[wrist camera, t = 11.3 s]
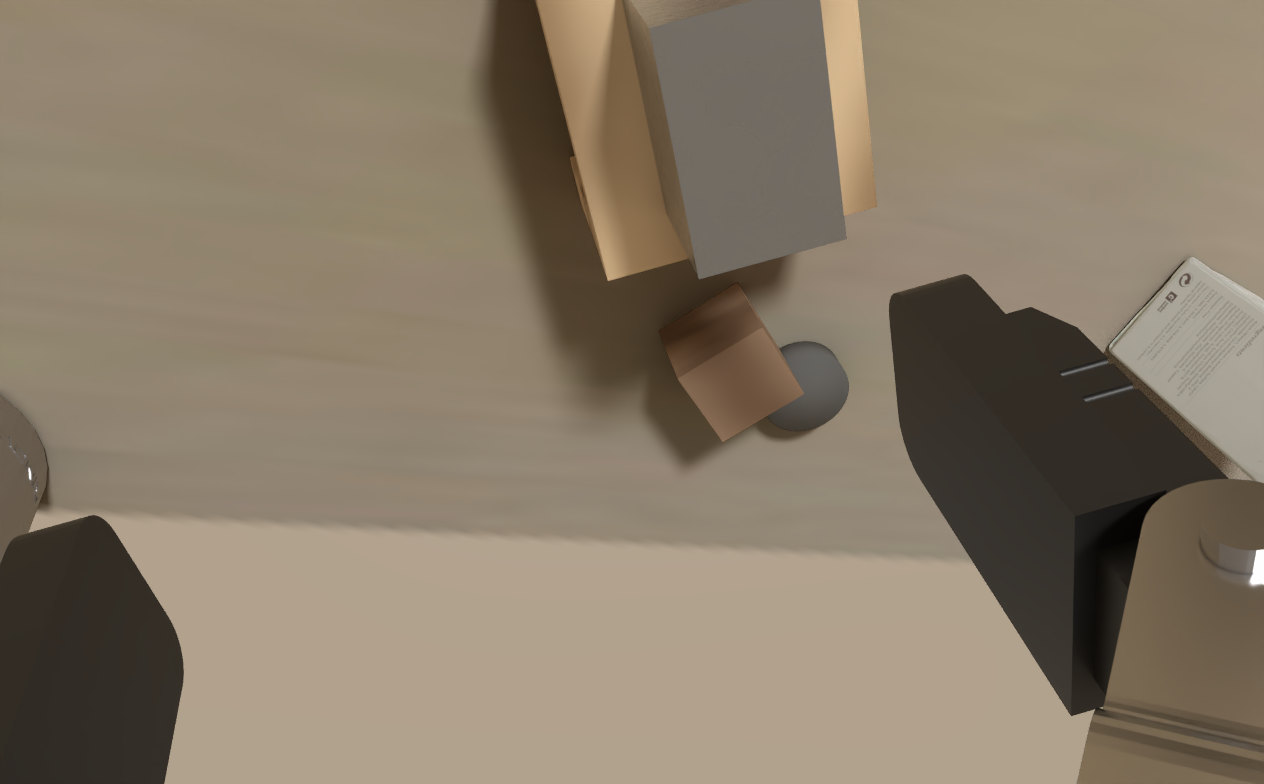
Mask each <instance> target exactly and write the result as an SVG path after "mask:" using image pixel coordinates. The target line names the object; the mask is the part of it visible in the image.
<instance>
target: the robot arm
mask: <svg viewBox="0 0 1264 784" xmlns="http://www.w3.org/2000/svg"><path fill="white" fill-rule="evenodd" d="M889 318H890V329H891V340H892V351H893V361H894V372H895V383H896V394H897V405H898V415H899V422H900V428H901V432H902V436H903V440H904V443H905V446H906V449H907V452H908V455H909V458H910V460H911V462H912V465H913V467H914V469H915V471H916V473H917V475H918V476H919V478H920V480H921V481H922V483H923V484H924V486H925V488H926V489H927V491H928V492H929V494H930V495H931V497H932V499H933V500H934V502H935V503H936V505H937V506H938V508H939V509H940V511H941V513H942V514H943V516H944V517H945V519H946V520H947V522H948V524H949V525H950V527H951V528H952V530H953V531H954V533H955V535H956V536H957V538H958V539H959V541H960V542H961V544H962V546H963V547H964V549H965V550H966V552H967V553H968V555H969V557H970V558H971V560H972V561H973V563H974V564H975V566H976V568H977V569H978V571H979V572H980V574H981V575H982V577H983V578H984V580H985V582H986V583H987V585H988V586H989V588H990V589H991V591H992V593H993V594H994V596H995V597H996V599H997V600H998V602H999V604H1000V605H1001V607H1002V608H1003V610H1004V612H1005V613H1006V615H1007V616H1008V618H1009V619H1010V621H1011V622H1012V624H1013V626H1014V627H1015V629H1016V630H1017V632H1018V633H1019V635H1020V637H1021V638H1022V640H1023V641H1024V643H1025V644H1026V646H1027V647H1028V649H1029V651H1030V652H1031V654H1032V655H1033V657H1034V659H1035V660H1036V662H1037V663H1038V665H1039V666H1040V668H1041V669H1042V671H1043V673H1044V674H1045V676H1046V677H1047V679H1048V680H1049V682H1050V684H1051V685H1052V687H1053V688H1054V690H1055V691H1056V693H1057V695H1058V696H1059V698H1060V699H1061V701H1062V703H1063V704H1064V706H1065V707H1066V709H1067V710H1068V712H1069V714H1070V715H1071V716H1073V715H1077V714H1080V713H1083V712H1087V711H1090V710H1093V709H1095V711H1094V714H1093V717H1092V720H1091V724H1090V727H1089V731H1088V735H1087V740H1086V744H1085V748H1084V753H1083V757H1082V762H1081V767H1080V771H1079V775H1078V780H1077V784H1264V483H1262V482H1256V481H1251V480H1240V479H1228V478H1227V477H1226V476H1225V475H1224V474H1223V473H1222V472H1221V471H1220V470H1219V469H1218V468H1217V467H1216V466H1215V465H1214V464H1213V463H1212V462H1211V461H1210V460H1209V459H1208V458H1207V457H1206V456H1205V455H1204V454H1203V453H1202V452H1201V451H1200V450H1199V449H1198V448H1197V447H1196V446H1195V445H1194V444H1193V443H1192V442H1191V441H1190V440H1189V439H1188V438H1187V437H1186V436H1185V435H1184V434H1183V433H1182V432H1181V431H1180V430H1179V429H1178V428H1177V427H1176V426H1175V425H1174V424H1173V423H1172V422H1171V421H1170V420H1169V419H1168V418H1167V417H1166V416H1165V415H1164V414H1163V413H1162V412H1161V411H1160V410H1159V409H1158V408H1157V407H1156V406H1155V405H1154V404H1153V403H1152V402H1151V401H1150V400H1149V399H1148V398H1147V397H1146V396H1145V395H1144V394H1143V393H1142V392H1141V391H1140V390H1139V389H1137V390H1134V388H1133V384H1132V382H1131V381H1130V380H1129V379H1128V378H1127V377H1126V376H1125V375H1124V374H1123V373H1122V372H1121V371H1120V370H1119V369H1118V368H1117V367H1116V366H1115V365H1114V364H1111V365H1110V364H1109V363H1108V359H1107V357H1106V356H1105V355H1104V354H1103V353H1102V352H1101V351H1100V350H1099V349H1098V348H1097V347H1096V346H1095V345H1094V344H1093V343H1092V342H1091V341H1090V340H1089V339H1088V338H1087V337H1086V336H1085V335H1084V334H1083V333H1082V332H1081V331H1080V330H1079V329H1078V328H1077V327H1075V326H1073V325H1070V324H1068V323H1066V322H1064V321H1061V320H1059V319H1057V318H1055V317H1052V316H1050V315H1048V314H1046V313H1043V312H1041V311H1039V310H1036V309H1034V308H1032V307H1029V308H1026V309H1022V310H1019V311H1015V312H1011V313H1008V314H1005V313H1004V312H1003V311H1002V310H1001V309H1000V307H999V306H998V305H997V304H996V303H995V302H994V301H993V300H992V299H991V298H990V297H989V295H988V294H987V293H986V292H985V291H984V290H983V289H982V288H981V287H980V286H979V285H978V283H977V282H976V281H975V280H974V279H973V278H972V277H970V276H969V275H967V274H962V275H959V276H955V277H951V278H948V279H944V280H941V281H937V282H934V283H930V284H926V285H923V286H919V287H916V288H912V289H908V290H905V291H901V292H898V293H894V294H893V295H892V296H891V299H890V303H889ZM47 469H48V467H47V462H46V457H45V452H44V448H43V446H42V444H41V442H40V440H39V438H38V436H37V433H36V431H35V429H34V428H33V427H32V426H31V425H30V423H29V422H28V421H27V420H26V418H25V417H24V416H23V415H22V413H21V412H20V411H19V410H18V409H16V408H15V407H14V406H13V405H12V404H11V403H9V402H8V401H7V400H6V399H5V398H3V397H2V396H1V395H0V784H164V782H165V776H166V771H167V765H168V760H169V755H170V749H171V744H172V739H173V734H174V728H175V723H176V718H177V712H178V707H179V701H180V696H181V691H182V686H183V675H184V671H183V670H184V669H183V658H182V652H181V647H180V644H179V640H178V637H177V634H176V631H175V629H174V627H173V625H172V623H171V621H170V619H169V617H168V616H167V614H166V612H165V611H164V609H163V608H162V606H161V605H160V603H159V601H158V600H157V598H156V597H155V595H154V594H153V592H152V590H151V589H150V587H149V585H148V584H147V582H146V581H145V579H144V578H143V576H142V575H141V573H140V571H139V570H138V568H137V566H136V565H135V563H134V562H133V560H132V558H131V557H130V555H129V554H128V553H127V551H126V549H125V547H124V546H123V544H122V543H121V541H120V540H119V538H118V536H117V535H116V533H115V532H114V530H113V529H112V527H111V526H110V525H109V524H108V523H107V522H106V521H105V520H104V519H102V518H101V517H99V516H95V515H92V516H88V517H84V518H80V519H77V520H73V521H70V522H66V523H63V524H59V525H55V526H52V527H48V528H45V529H41V530H37V531H34V532H30V533H28V531H29V529H30V526H31V524H32V521H33V518H34V516H35V513H36V510H37V508H38V505H39V503H40V500H41V497H42V495H43V492H44V490H45V487H46V481H47ZM1100 707H1103V709H1101V708H1100Z"/></svg>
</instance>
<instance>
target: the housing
mask: <svg viewBox="0 0 1264 784" xmlns="http://www.w3.org/2000/svg"><path fill="white" fill-rule="evenodd" d="M622 3H623V8H624V13H625V18H626V23H627V27H628V32H629V37H630V42H631V47H632V51H633V56H634V61H635V66H636V71H637V75H638V80H639V85H640V90H641V95H642V99H643V104H644V109H645V114H646V119H647V123H648V128H649V133H650V138H651V143H652V148H653V152H654V157H655V162H656V167H657V172H658V176H659V181H660V186H661V191H662V196H663V200H664V205H665V210H666V214H667V216H668V218H669V220H670V222H671V224H672V226H673V228H674V230H675V232H676V234H677V236H678V238H679V240H680V242H681V244H682V246H683V248H684V250H685V252H686V254H687V256H688V259H689V261H690V263H691V265H692V267H693V269H694V271H695V273H696V275H697V277H698V279H702V278H706V277H710V276H713V275H717V274H721V273H724V272H728V271H732V270H735V269H739V268H743V267H746V266H750V265H753V264H757V263H761V262H764V261H768V260H772V259H775V258H779V257H783V256H786V255H790V254H794V253H797V252H801V251H804V250H808V249H812V248H815V247H819V246H823V245H826V244H830V243H834V242H837V241H841V240H845V239H846V230H845V221H844V211H843V202H842V193H841V184H840V175H839V166H838V157H837V147H836V138H835V129H834V120H833V111H832V102H831V93H830V84H829V74H828V65H827V56H826V47H825V38H824V29H823V20H822V11H821V1H820V0H622Z"/></svg>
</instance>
